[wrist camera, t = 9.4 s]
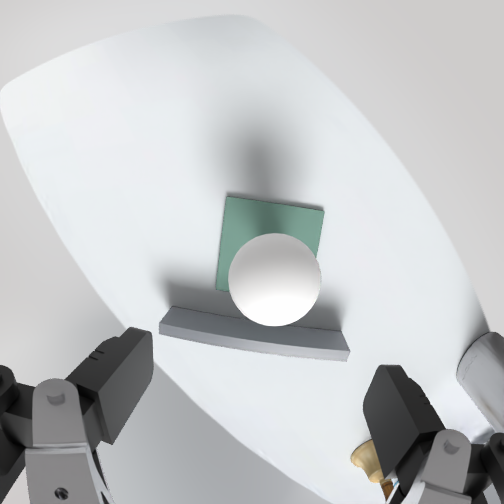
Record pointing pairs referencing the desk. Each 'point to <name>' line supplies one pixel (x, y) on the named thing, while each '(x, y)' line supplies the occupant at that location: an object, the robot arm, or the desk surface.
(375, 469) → the hand bell
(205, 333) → the wall
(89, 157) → the desk surface
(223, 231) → the pad
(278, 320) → the lightbulb
